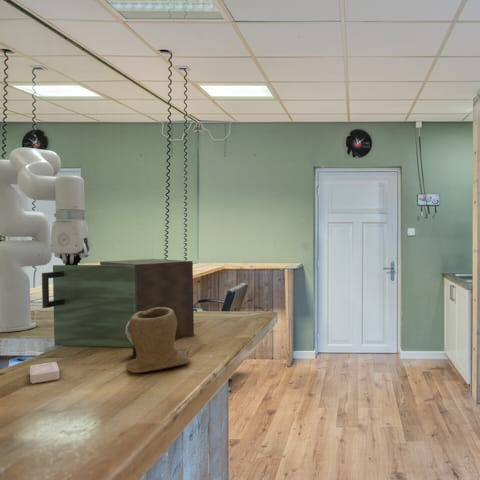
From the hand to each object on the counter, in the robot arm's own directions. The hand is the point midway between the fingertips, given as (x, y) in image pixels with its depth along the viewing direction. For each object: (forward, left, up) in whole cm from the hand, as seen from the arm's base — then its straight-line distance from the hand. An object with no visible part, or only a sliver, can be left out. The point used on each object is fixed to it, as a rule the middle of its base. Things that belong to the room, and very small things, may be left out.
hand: (71, 276), depth 140 cm
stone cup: (+43, -21, -21) cm, 52 cm away
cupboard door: (+9, -5, -20) cm, 23 cm away
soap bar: (+19, -30, -21) cm, 42 cm away
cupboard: (+16, +13, -21) cm, 29 cm away
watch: (+31, -11, -21) cm, 39 cm away
